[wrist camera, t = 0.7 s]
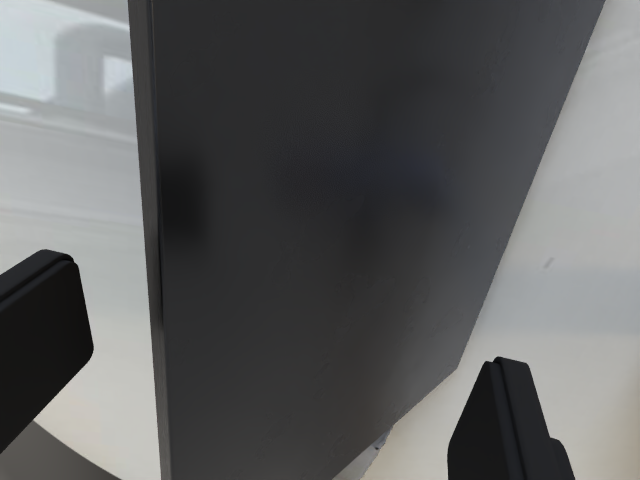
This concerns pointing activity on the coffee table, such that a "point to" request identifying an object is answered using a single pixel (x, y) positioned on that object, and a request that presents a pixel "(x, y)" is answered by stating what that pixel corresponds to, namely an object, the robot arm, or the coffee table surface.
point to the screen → (328, 209)
